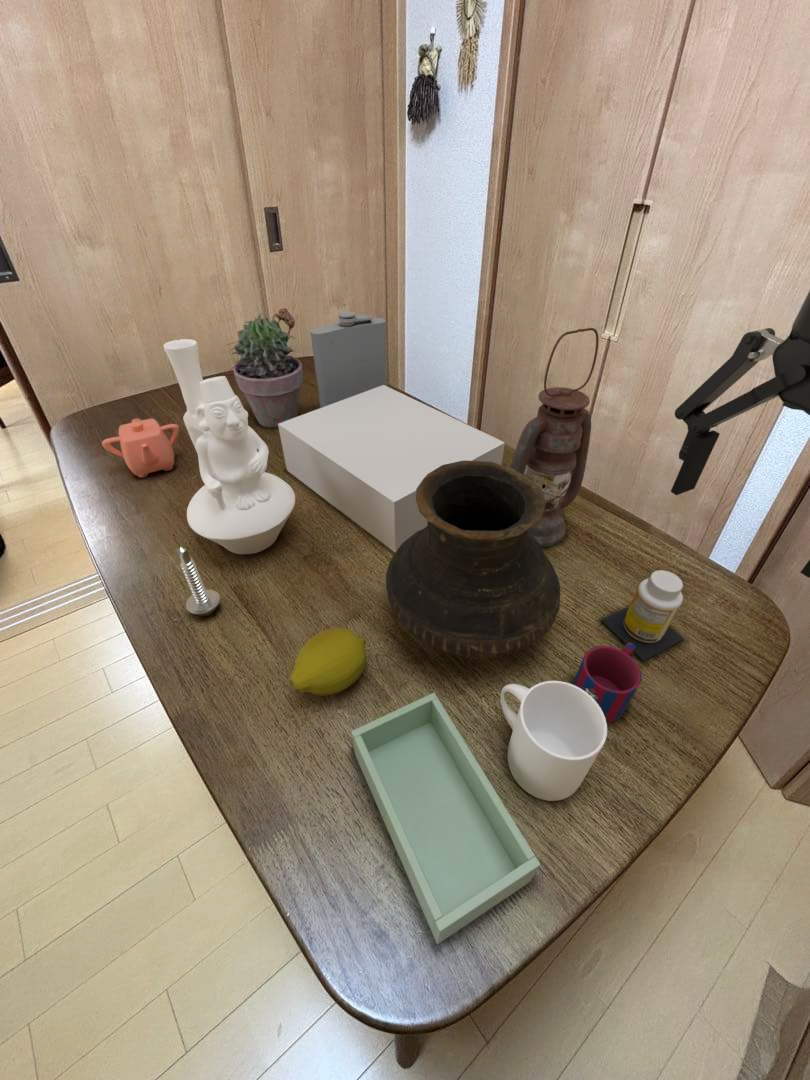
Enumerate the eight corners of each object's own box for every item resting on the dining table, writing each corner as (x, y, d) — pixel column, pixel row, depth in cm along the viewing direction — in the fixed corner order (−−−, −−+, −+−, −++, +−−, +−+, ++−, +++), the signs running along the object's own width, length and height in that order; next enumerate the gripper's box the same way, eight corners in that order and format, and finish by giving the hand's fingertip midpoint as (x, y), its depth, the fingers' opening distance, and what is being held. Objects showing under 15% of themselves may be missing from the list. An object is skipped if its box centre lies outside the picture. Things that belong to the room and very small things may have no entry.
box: (384, 428, 116) (383, 384, 109) (497, 490, 97) (504, 442, 90) (286, 470, 102) (277, 423, 95) (395, 552, 83) (394, 502, 76)
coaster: (683, 640, 69) (684, 639, 69) (642, 662, 66) (643, 660, 66) (639, 603, 74) (640, 601, 74) (600, 621, 72) (601, 619, 71)
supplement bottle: (645, 610, 73) (670, 562, 66) (671, 639, 69) (700, 590, 62) (613, 619, 71) (635, 570, 65) (638, 649, 67) (663, 600, 61)
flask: (382, 407, 125) (378, 304, 108) (390, 415, 121) (387, 309, 105) (319, 423, 118) (304, 316, 102) (326, 431, 115) (312, 322, 99)
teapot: (106, 473, 102) (85, 430, 95) (147, 446, 110) (131, 405, 103) (160, 487, 98) (142, 443, 91) (198, 458, 106) (185, 416, 100)
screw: (223, 619, 72) (189, 625, 71) (223, 595, 76) (190, 602, 75) (198, 555, 64) (159, 562, 63) (199, 533, 67) (163, 539, 66)
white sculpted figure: (213, 586, 77) (140, 398, 56) (184, 515, 91) (117, 342, 70) (316, 548, 84) (286, 367, 63) (274, 487, 98) (238, 322, 77)
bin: (530, 881, 47) (540, 864, 44) (437, 944, 44) (440, 931, 40) (432, 715, 60) (434, 692, 57) (354, 753, 57) (351, 731, 53)
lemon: (355, 641, 69) (351, 604, 64) (382, 681, 64) (380, 645, 59) (284, 675, 65) (273, 639, 60) (306, 722, 60) (297, 687, 55)
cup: (559, 694, 63) (571, 664, 58) (605, 655, 67) (619, 624, 63) (603, 733, 59) (620, 704, 54) (649, 688, 63) (667, 658, 59)
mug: (520, 696, 62) (535, 646, 55) (597, 772, 55) (625, 726, 48) (471, 733, 59) (480, 685, 52) (546, 821, 51) (568, 778, 44)
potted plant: (219, 422, 119) (189, 315, 102) (282, 396, 130) (264, 296, 113) (265, 447, 110) (240, 334, 93) (328, 416, 121) (316, 310, 104)
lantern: (589, 533, 87) (656, 332, 64) (514, 559, 82) (556, 351, 59) (551, 500, 94) (598, 310, 71) (480, 522, 89) (506, 325, 66)
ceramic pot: (366, 581, 78) (357, 462, 63) (499, 545, 84) (518, 430, 70) (424, 712, 61) (430, 591, 46) (585, 654, 67) (636, 532, 52)
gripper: (688, 254, 40) (616, 472, 54) (1135, 347, 23) (860, 632, 37) (747, 246, 42) (664, 457, 56) (1190, 325, 25) (913, 599, 39)
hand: (741, 526), depth 46 cm, fingers open, 13 cm apart
